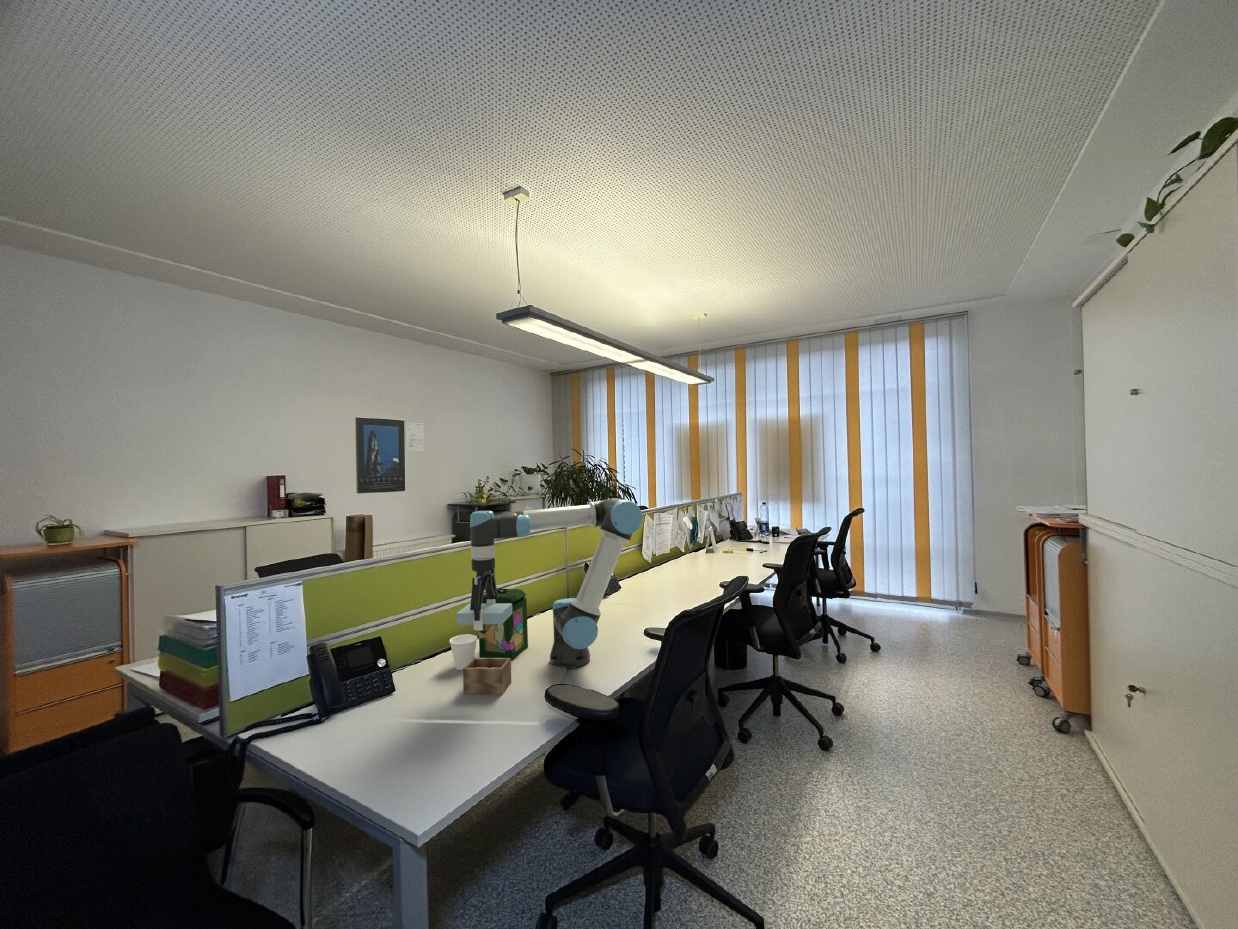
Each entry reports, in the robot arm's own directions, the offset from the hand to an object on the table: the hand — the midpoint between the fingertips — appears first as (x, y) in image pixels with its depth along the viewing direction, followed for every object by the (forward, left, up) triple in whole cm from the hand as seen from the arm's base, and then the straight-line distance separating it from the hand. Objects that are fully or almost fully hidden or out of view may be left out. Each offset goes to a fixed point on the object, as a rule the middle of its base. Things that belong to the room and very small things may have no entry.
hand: (485, 624), depth 163 cm
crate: (0, 0, -22) cm, 22 cm away
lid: (0, 0, +2) cm, 2 cm away
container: (+5, -33, -22) cm, 40 cm away
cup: (+15, -17, -22) cm, 32 cm away
